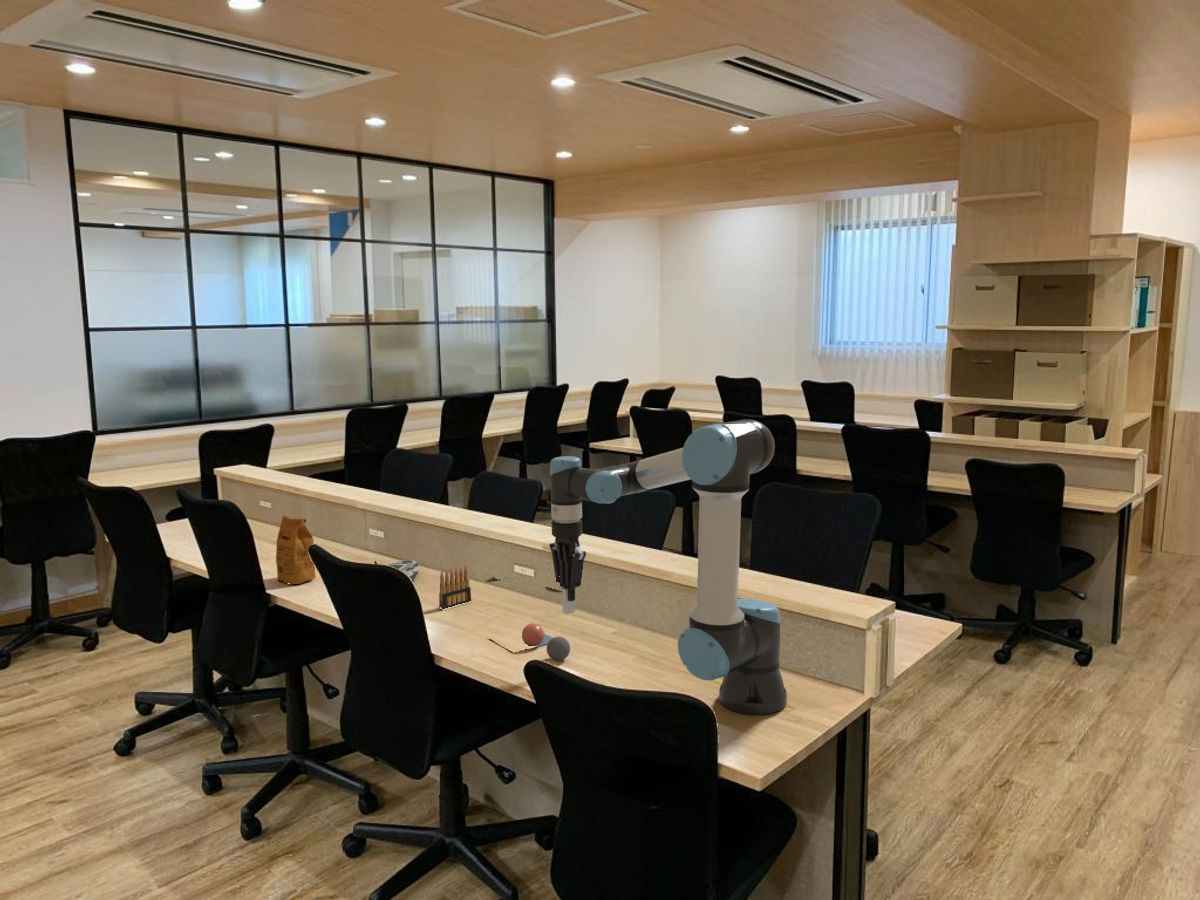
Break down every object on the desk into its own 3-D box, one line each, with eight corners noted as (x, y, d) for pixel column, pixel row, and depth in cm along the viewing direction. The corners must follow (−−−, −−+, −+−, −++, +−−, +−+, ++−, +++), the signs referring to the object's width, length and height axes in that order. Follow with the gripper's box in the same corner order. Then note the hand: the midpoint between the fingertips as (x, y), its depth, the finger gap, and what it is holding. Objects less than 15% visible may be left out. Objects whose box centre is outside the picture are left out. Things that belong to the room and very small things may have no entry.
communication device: (428, 569, 321) (427, 544, 320) (409, 588, 298) (408, 562, 297) (394, 568, 322) (393, 544, 321) (373, 588, 299) (372, 562, 297)
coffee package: (298, 574, 315) (294, 511, 312) (320, 580, 308) (315, 516, 304) (272, 581, 308) (268, 517, 304) (294, 587, 300) (289, 521, 297)
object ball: (543, 618, 244) (534, 625, 249) (524, 622, 241) (515, 630, 245) (550, 639, 242) (541, 646, 246) (531, 644, 239) (522, 651, 243)
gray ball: (566, 629, 235) (558, 642, 238) (547, 635, 231) (539, 648, 235) (577, 648, 232) (569, 661, 235) (557, 654, 228) (550, 667, 232)
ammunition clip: (468, 601, 283) (466, 563, 281) (471, 602, 281) (470, 564, 280) (439, 609, 275) (437, 570, 273) (442, 610, 274) (441, 572, 272)
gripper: (539, 517, 227) (542, 608, 231) (568, 526, 217) (570, 622, 220) (564, 513, 232) (566, 602, 235) (594, 522, 221) (596, 616, 225)
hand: (568, 612), depth 228 cm, fingers closed
